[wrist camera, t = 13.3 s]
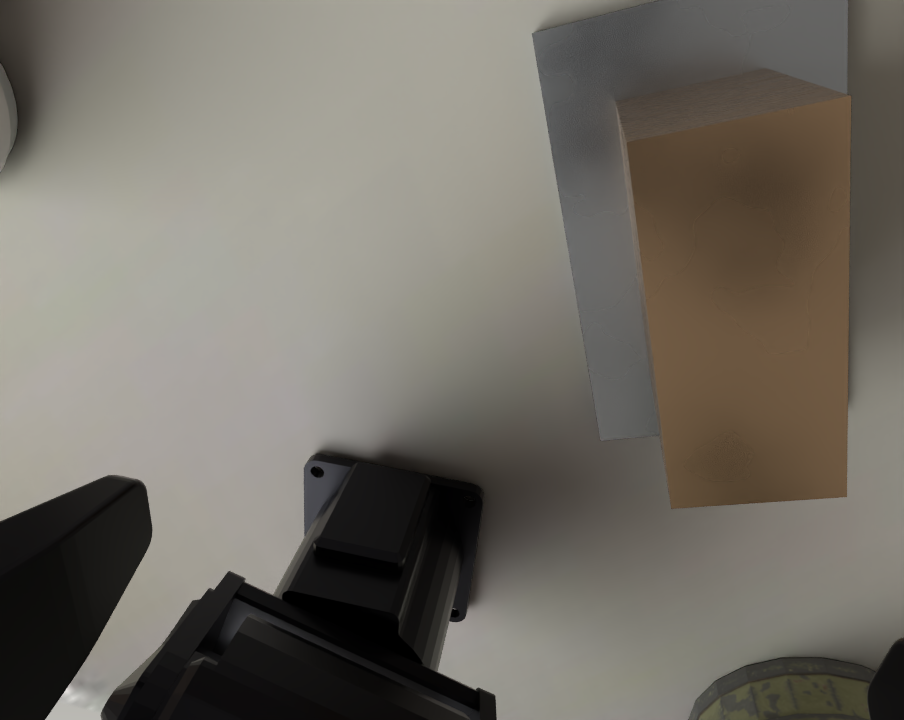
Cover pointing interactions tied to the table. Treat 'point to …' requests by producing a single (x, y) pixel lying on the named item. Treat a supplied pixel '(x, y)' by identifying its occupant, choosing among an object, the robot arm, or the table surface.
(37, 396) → the table surface
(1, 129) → the energy drink can
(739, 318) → the block on grey plate
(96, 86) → the table surface
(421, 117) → the table surface
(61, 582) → the robot arm
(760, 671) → the thermos
